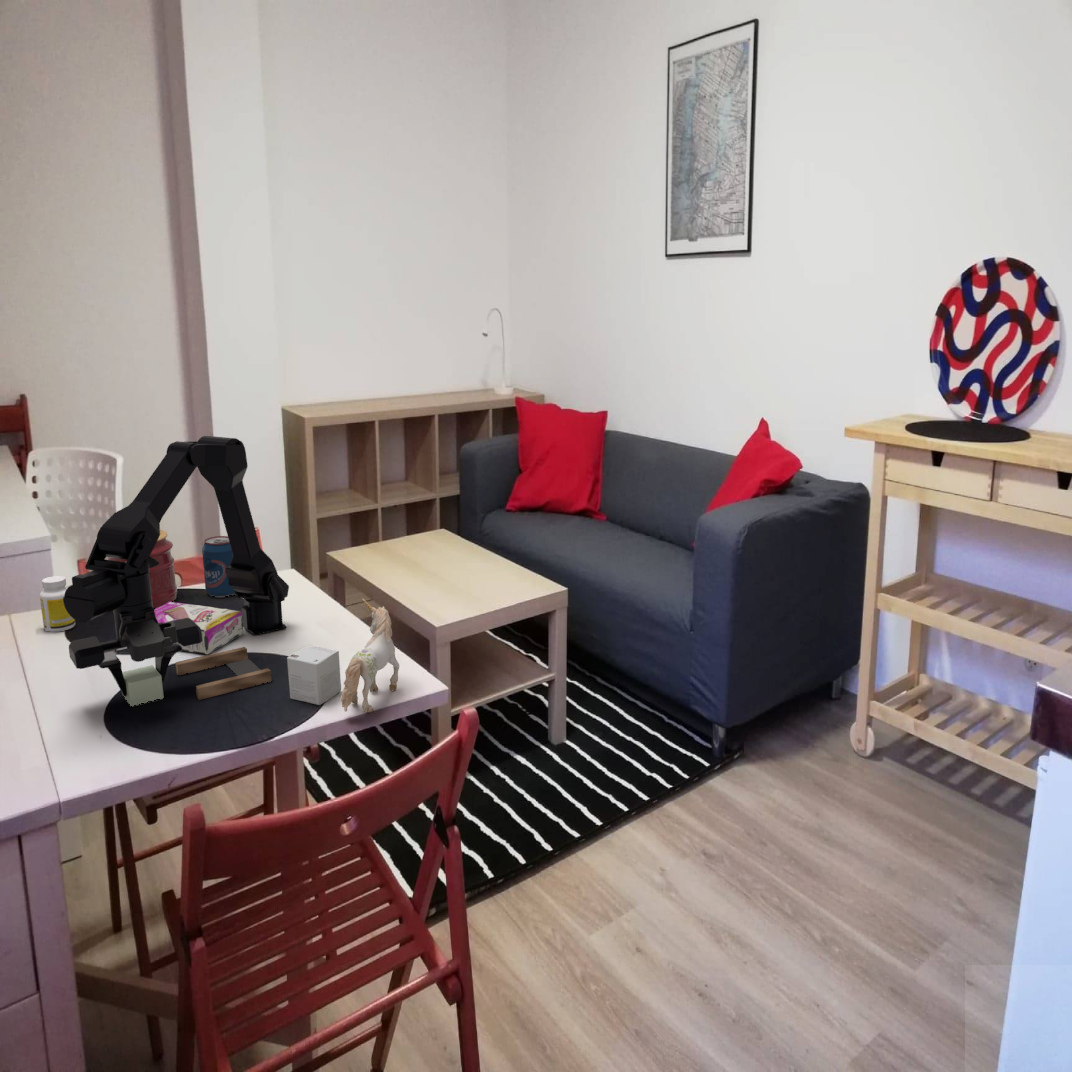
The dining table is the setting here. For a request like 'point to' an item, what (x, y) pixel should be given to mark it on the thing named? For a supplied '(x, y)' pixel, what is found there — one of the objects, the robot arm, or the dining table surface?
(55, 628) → the supplement bottle
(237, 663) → the channel
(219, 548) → the soda can
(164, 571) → the canister
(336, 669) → the skincare box
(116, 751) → the dining table surface
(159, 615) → the candy bar box
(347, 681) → the unicorn figurine
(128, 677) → the sage block
